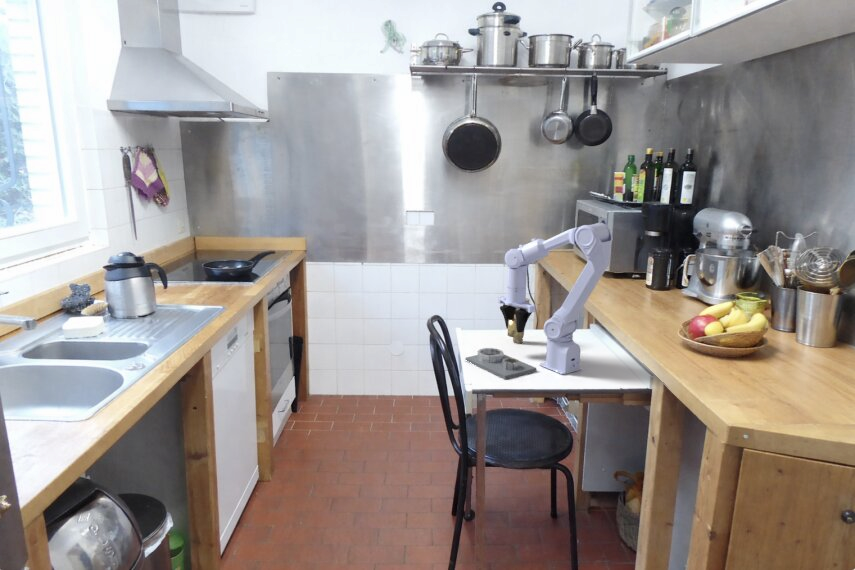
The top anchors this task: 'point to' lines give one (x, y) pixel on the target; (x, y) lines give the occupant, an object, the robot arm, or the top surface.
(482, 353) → the wide collar
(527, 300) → the handle
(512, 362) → the narrow collar
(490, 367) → the board
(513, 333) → the brass peg
